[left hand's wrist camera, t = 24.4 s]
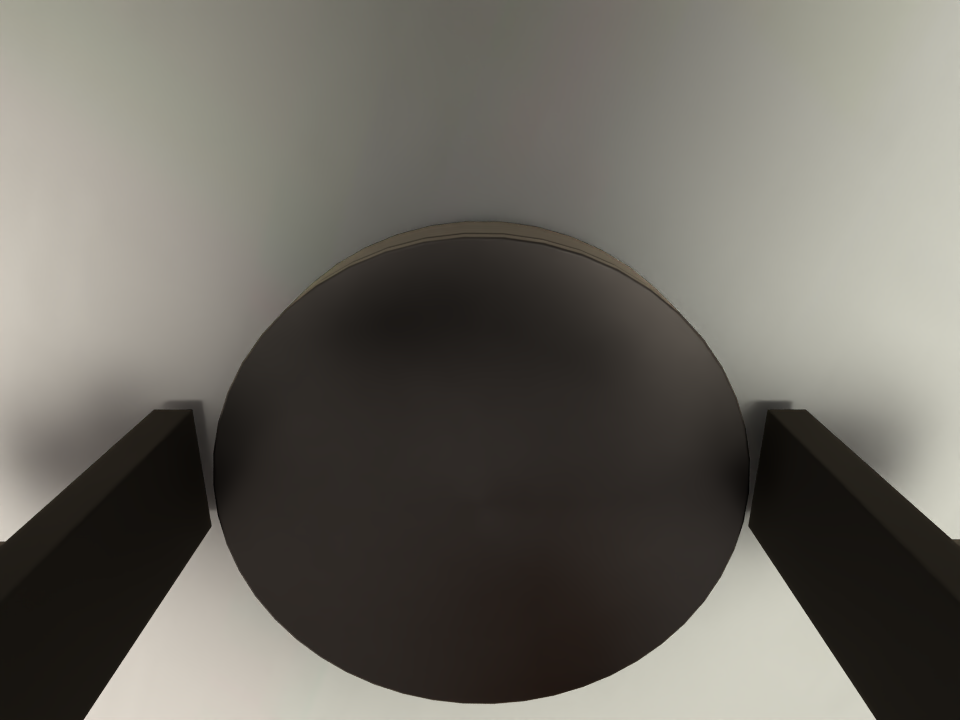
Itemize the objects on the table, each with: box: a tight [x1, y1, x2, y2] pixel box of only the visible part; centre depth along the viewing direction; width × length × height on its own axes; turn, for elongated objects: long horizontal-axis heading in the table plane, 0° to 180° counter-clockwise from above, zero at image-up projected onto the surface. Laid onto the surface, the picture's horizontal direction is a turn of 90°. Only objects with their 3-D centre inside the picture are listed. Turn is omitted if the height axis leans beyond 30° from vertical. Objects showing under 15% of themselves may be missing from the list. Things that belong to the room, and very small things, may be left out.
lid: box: [213, 221, 750, 704], centre depth 13 cm, size 10×10×2 cm
